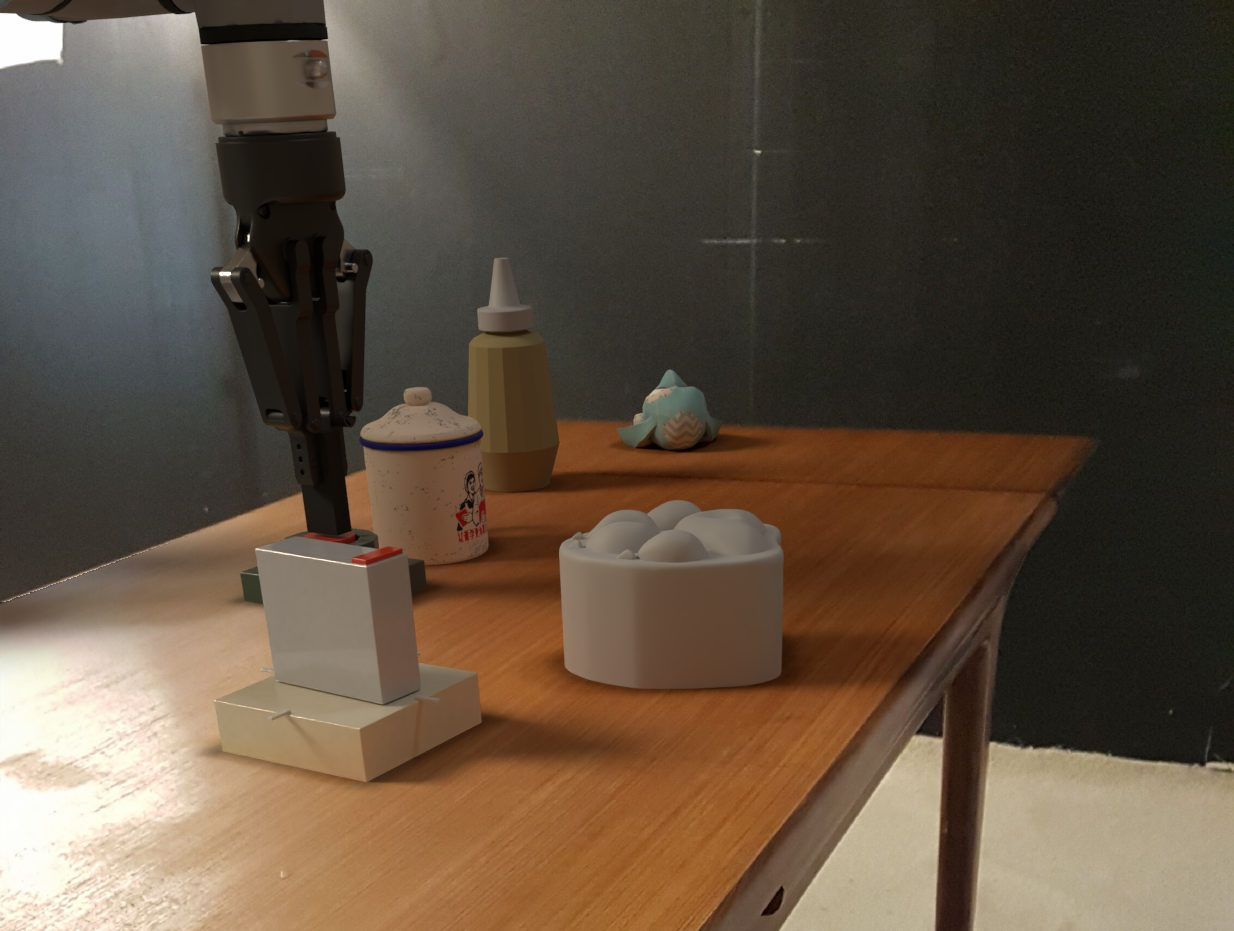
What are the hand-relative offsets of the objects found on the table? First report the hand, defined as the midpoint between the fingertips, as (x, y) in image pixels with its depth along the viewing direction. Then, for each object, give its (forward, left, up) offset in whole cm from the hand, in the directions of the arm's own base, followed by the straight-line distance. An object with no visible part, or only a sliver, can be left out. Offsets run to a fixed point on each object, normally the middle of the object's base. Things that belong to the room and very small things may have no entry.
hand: (329, 531), depth 108 cm
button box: (0, 0, -5) cm, 5 cm away
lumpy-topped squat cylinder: (+29, -3, -5) cm, 29 cm away
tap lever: (+20, -22, -1) cm, 30 cm away
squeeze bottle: (-9, +35, -5) cm, 36 cm away
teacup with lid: (-2, +14, -5) cm, 15 cm away
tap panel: (+20, -22, -5) cm, 30 cm away
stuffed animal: (-6, +57, -5) cm, 58 cm away
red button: (0, 0, -2) cm, 2 cm away
